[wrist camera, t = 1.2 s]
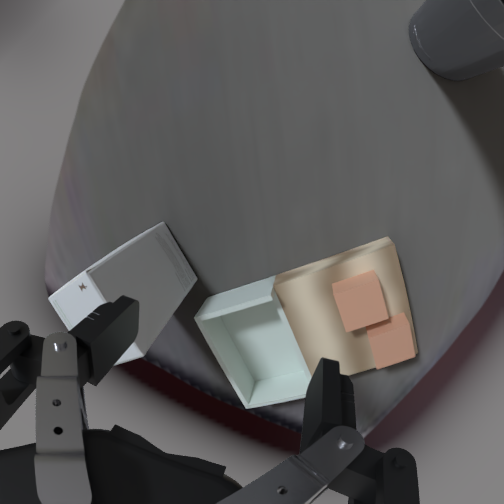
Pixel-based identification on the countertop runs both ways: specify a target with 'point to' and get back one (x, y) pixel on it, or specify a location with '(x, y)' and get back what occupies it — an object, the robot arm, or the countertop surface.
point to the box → (254, 344)
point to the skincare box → (132, 285)
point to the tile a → (360, 301)
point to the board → (325, 308)
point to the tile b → (391, 340)
